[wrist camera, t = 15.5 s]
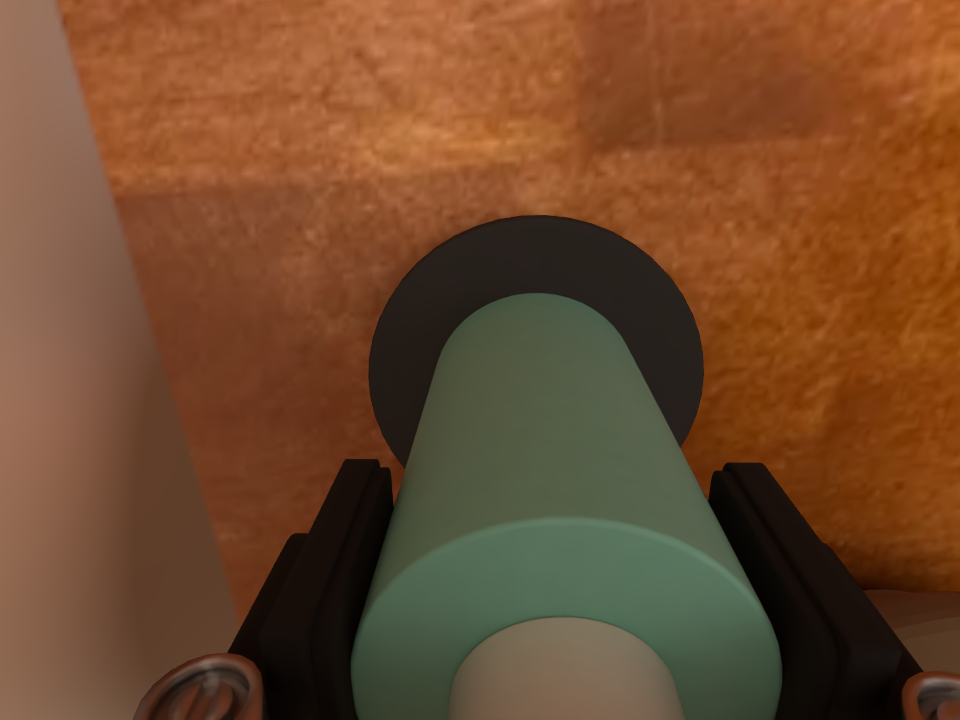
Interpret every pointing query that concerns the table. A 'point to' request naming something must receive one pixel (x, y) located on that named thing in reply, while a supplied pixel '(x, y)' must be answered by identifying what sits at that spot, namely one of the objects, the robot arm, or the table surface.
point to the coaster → (532, 269)
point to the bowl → (924, 625)
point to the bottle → (555, 546)
